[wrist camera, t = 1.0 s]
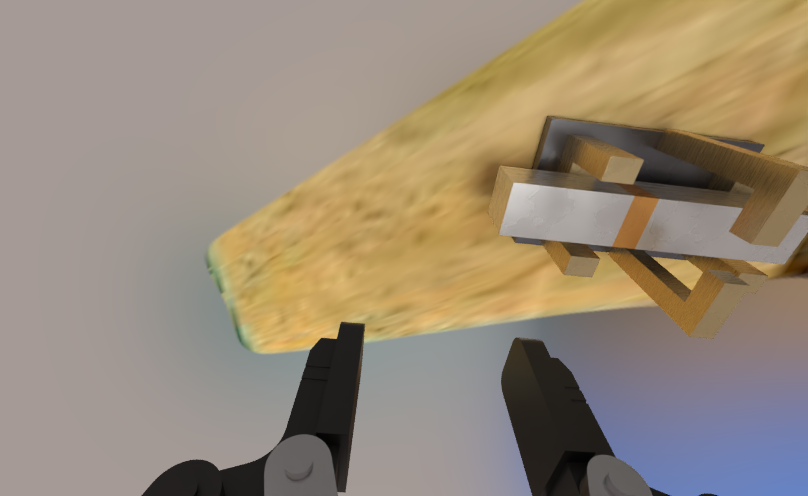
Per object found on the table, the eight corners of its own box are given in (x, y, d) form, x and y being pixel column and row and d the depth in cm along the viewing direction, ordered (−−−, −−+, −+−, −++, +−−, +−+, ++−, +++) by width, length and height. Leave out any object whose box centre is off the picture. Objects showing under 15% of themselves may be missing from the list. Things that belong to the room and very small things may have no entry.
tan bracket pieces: (751, 156, 27) (836, 182, 21) (695, 251, 31) (755, 293, 25) (568, 134, 26) (610, 155, 21) (535, 234, 30) (563, 274, 25)
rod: (768, 196, 26) (819, 216, 23) (740, 239, 28) (783, 264, 25) (499, 165, 25) (513, 182, 22) (487, 212, 27) (499, 235, 24)
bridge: (685, 131, 26) (830, 173, 17) (625, 256, 31) (712, 338, 22) (665, 128, 26) (800, 170, 17) (608, 254, 31) (689, 336, 22)
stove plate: (753, 141, 27) (764, 144, 26) (687, 255, 32) (695, 261, 31) (547, 116, 26) (552, 118, 25) (511, 237, 31) (515, 242, 30)
